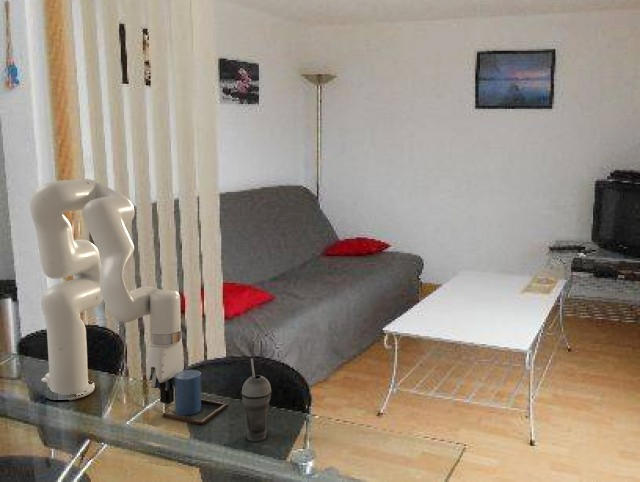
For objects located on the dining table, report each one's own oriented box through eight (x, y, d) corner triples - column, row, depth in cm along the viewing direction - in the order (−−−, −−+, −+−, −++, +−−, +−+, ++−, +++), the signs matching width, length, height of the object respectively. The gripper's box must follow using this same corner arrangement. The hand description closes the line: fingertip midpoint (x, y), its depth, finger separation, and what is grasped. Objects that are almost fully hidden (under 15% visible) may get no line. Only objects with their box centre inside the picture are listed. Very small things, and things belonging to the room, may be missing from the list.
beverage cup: (264, 445, 145) (264, 365, 142) (236, 442, 146) (235, 362, 143) (276, 431, 152) (276, 355, 149) (249, 428, 153) (248, 352, 150)
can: (169, 413, 160) (168, 377, 159) (186, 402, 166) (185, 368, 165) (190, 417, 158) (189, 380, 157) (206, 407, 164) (205, 371, 163)
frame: (162, 417, 158) (162, 414, 157) (191, 399, 169) (191, 396, 169) (201, 425, 154) (201, 422, 154) (228, 406, 165) (228, 403, 165)
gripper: (172, 327, 170) (173, 389, 172) (134, 343, 156) (135, 411, 158) (195, 330, 167) (196, 393, 170) (158, 347, 153) (159, 416, 156)
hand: (167, 401), depth 164 cm, fingers closed
